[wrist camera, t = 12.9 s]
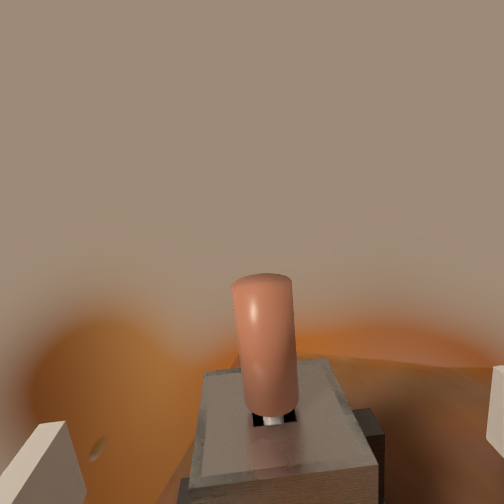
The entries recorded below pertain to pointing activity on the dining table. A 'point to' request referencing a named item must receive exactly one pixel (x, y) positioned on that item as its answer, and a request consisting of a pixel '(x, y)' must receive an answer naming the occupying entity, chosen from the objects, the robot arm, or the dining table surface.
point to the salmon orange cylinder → (267, 344)
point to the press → (284, 446)
